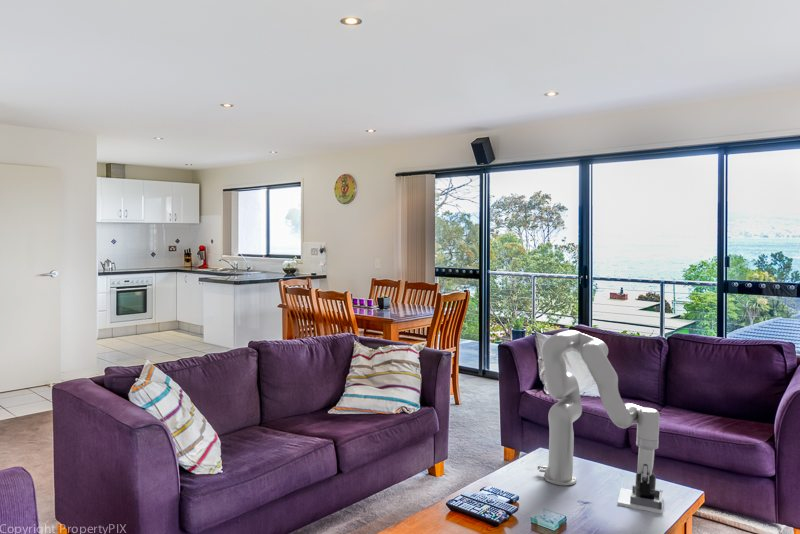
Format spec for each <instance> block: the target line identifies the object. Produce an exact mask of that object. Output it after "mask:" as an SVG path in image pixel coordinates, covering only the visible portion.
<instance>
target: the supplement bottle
mask: <svg viewBox="0 0 800 534" xmlns="http://www.w3.org/2000/svg"><path fill="white" fill-rule="evenodd" d="M647 469H648V467H647ZM647 474H648V473H647ZM647 478H648V477H647ZM647 481H648V480H647ZM640 482H641V474H638V473H637V472H636V474H635V496H636V497H640V498H645V499H651V500H654V499H655V489H656V482H657V477H656V475H655V473H654V469H653V470H652V474H651V476H649V483H650V489H649V494H644V493H640Z"/></svg>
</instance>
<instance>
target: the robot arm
mask: <svg viewBox="0 0 800 534" xmlns="http://www.w3.org/2000/svg"><path fill="white" fill-rule="evenodd" d="M541 350H542V351H541V352H542V353H541V354H542V361H543V366H544V367H543V368H544V373H545V374H544V375H545V382H546V388H547V392H548V394H549V396H550V397H551V398H552V399H555V400H557V402H556V403H554V404H553V405H551V407H550V409H549V410H548V416H547V417H548V420H547V421H548V426H549V427H548V428H549V431H548V432H549V434H548V435H549V439H548V442H549V443H548V465H541V464H538V465H537V470H539V471H538V472H540V473H544V474H543V479H544V480H545V481H547V482H548V483H550V484H552V485H557V486H563V487H564V486H566V487H567V486H573V485H575V484H576V483H577V477H576V476H575V475H574V474H573V473H574V472H573V467H574V446H575V445H574V443H575V441H574V440H575V438H574V437H575V436H574V435H575V433H574V426H573V423H574V422H575V421H577V420H578V419H579V418H580V417H581V416H582V413H583V405H582V401H581V393H580V387H579V386H580V385H579V382H578V380H577V377H576V376H575V375H574V374H572V373H571V372H568V371H567V366H566V362H565V358H564V355H565V354H567V353H570V352H575V353H578V354H580V357H581V359H582V362H583V363H584V364H585V366H586V368H587V370H588V372H589V374H590V375H591V377H592V379H593V380H594V383H595V384H596V386H597V390H598V394H599V397H600V400H601V403H602V406H603V408H604V410H605V412H606V413H607V415H608V416H609V419H610V420H611V422H612V423H613V424H614V425H615V426H616V427H617V428H621V429H627V428H630V427H631V426H632V425H636V441H635V445H636V446H637V447H638V454H637V472H636V473H638V474H641V482H640V493H644V494H649V489H650V483H649V476H651V474H652V470H653V471H654V463H655V462H654V461H655V450H657V449H659V440H660V439H659V438H660V437H659V435H660V420H661V415H660V411H658V410H657V409H655V408H653V407H643V406H640V405H637V404H635V403H630V402H624V401H623V399H622V397H621V394H620V391H619V377H618V373H617V372H616V370H615V368H614V367H613V365H612V363H611V362H610V360H609V358H608V356H609V355H608V354H609V348H608V345H607V343H605V342H604V341H603V340H601V339H599V338H597V337H593V336H591V335H588V334H585V333H582V332H580V331H578V330H574V329H567V330H562V331H560V332H557V333H554V334H553V335H551V336H550V337H548V338H547V339H546V340H545V341H544V343H543V345H542V349H541ZM647 467H648V469H647ZM647 473H648V474H647ZM647 477H648V478H647ZM647 480H648V481H647Z"/></svg>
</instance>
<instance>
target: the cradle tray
mask: <svg viewBox="0 0 800 534" xmlns="http://www.w3.org/2000/svg"><path fill="white" fill-rule="evenodd" d="M635 485H636V484H635ZM635 485H633V484H632V486H631V488H632V489H629V488H628V489H627V488H624V487H620V491H619V495H618V498H617V506H621V507H625V508H626V507H627V508H631V509H635V510H640V511H645V512H651V513H655V514H661V515H663V509H664V508H663V507H664V506H663V505H664V494H663V491H664V490H662V489H656V488H655V499H654V500H651V499H645V498H640V497H636V496H635Z"/></svg>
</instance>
